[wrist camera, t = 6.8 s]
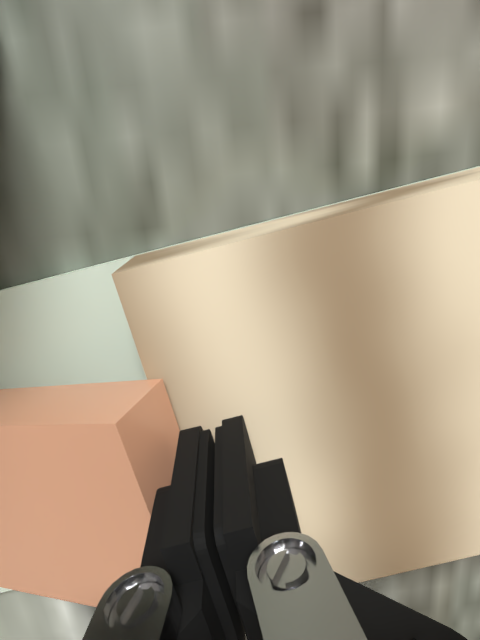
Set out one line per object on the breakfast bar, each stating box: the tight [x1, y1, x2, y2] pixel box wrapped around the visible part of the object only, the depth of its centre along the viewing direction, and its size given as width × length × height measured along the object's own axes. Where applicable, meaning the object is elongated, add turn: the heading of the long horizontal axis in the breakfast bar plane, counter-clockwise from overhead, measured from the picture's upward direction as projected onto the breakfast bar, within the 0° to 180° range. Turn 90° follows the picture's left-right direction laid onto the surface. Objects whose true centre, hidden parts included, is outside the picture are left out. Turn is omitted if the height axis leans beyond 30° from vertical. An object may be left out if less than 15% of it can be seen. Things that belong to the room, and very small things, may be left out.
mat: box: [0, 166, 480, 593], centre depth 15 cm, size 22×11×1 cm, turn 104°
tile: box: [0, 379, 180, 607], centre depth 13 cm, size 8×6×2 cm
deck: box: [111, 167, 480, 583], centre depth 13 cm, size 12×11×3 cm
